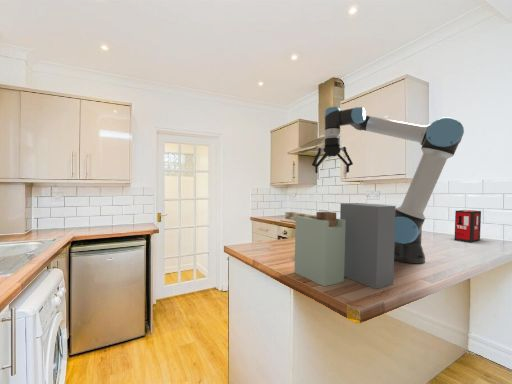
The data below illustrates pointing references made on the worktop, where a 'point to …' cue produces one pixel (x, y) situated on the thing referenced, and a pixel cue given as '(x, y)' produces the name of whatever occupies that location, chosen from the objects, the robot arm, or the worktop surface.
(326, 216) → the mallet
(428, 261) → the worktop surface
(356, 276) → the tall grey upright slab
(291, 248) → the worktop surface
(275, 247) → the worktop surface
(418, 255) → the robot arm
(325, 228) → the sage green tall box
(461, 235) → the cleaning product box
